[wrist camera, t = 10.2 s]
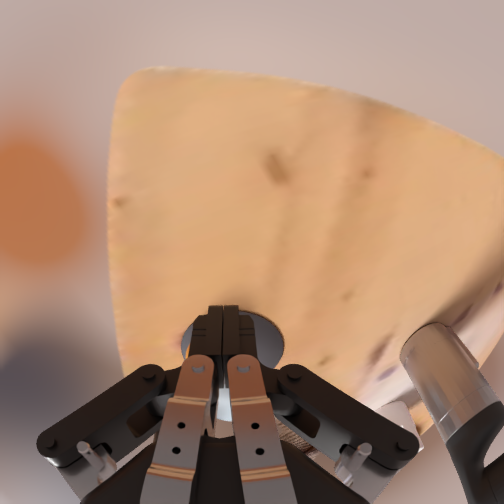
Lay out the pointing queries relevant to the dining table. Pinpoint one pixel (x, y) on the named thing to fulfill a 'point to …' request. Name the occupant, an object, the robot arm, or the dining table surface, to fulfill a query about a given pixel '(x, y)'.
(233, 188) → the dining table surface
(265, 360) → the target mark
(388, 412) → the cylinder with rectangular tab
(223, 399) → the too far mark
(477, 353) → the dining table surface
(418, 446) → the robot arm
